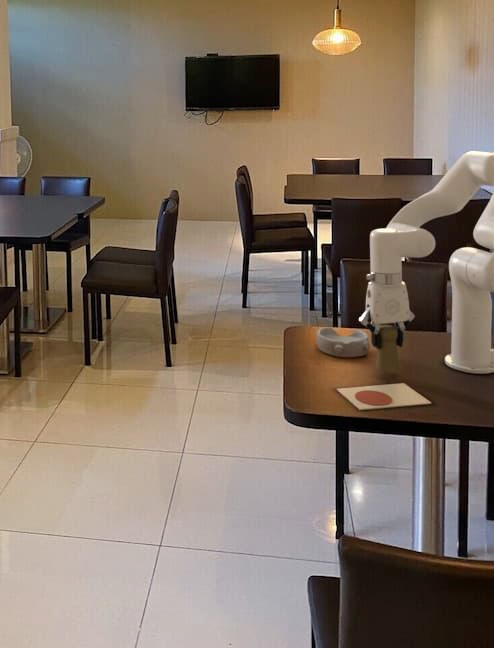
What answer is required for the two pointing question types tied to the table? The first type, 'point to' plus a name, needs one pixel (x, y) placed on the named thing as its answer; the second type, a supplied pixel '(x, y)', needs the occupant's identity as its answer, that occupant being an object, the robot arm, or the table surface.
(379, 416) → the table surface
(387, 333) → the cork
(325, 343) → the dish
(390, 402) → the placemat
